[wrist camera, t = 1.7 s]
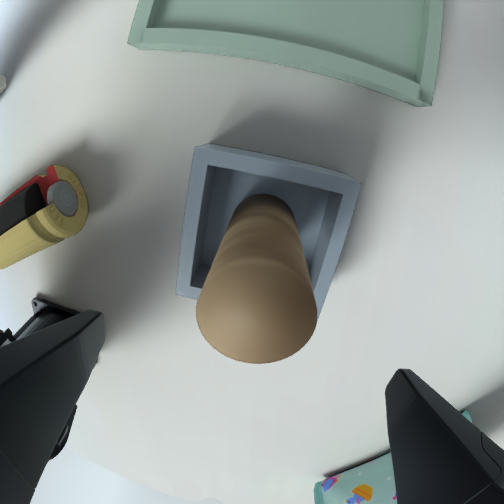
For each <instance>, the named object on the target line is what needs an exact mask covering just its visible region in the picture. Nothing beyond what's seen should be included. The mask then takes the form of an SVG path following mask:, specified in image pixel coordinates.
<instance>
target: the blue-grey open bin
mask: <svg viewBox="0 0 504 504" xmlns="http://www.w3.org/2000/svg"><path fill="white" fill-rule="evenodd" d="M360 187H361V183H360V182H359V181H357V180H355V179H354V178H352V177H351V176H349V175H348V174H346V173H343V172H339V171H335V170H331V169H327V168H323V167H320V166H316V165H311V164H307V163H303V162H299V161H295V160H290V159H286V158H281V157H277V156H272V155H267V154H263V153H258V152H253V151H248V150H242V149H237V148H232V147H226V146H220V145H215V144H209V143H208V144H204V145H200V146H196V147H195V148H194V154H193V160H192V167H191V173H190V179H189V186H188V193H187V200H186V207H185V215H184V222H183V230H182V238H181V247H180V256H179V265H178V275H177V286H176V295H179V296H183V297H188V298H192V299H197V300H198V298H199V296H200V293H201V290H202V288H203V285H204V283H205V280H206V278H207V275H208V273H209V271H210V268H211V266H212V263H213V261H214V258H215V256H216V253H217V251H218V248H219V246H220V244H221V241H222V239H223V236H224V234H225V232H226V229H227V227H228V224H229V222H230V220H231V217H232V215H233V212H234V210H235V209H236V207H237V206H238V205H239V204H240V203H241V202H242V201H243V200H244V199H246V198H248V197H250V196H253V195H256V194H270V195H273V196H276V197H278V198H280V199H282V200H283V201H284V202H286V203H287V205H288V206H289V207H290V208H291V210H292V212H293V214H294V217H295V221H296V224H297V228H298V232H299V236H300V240H301V244H302V248H303V252H304V256H305V260H306V264H307V268H308V272H309V276H310V280H311V284H312V289H313V293H314V297H315V301H316V306H317V320H318V318H319V315H320V312H321V309H322V307H323V304H324V301H325V298H326V295H327V293H328V290H329V287H330V284H331V281H332V278H333V275H334V272H335V269H336V266H337V263H338V260H339V257H340V254H341V251H342V248H343V245H344V241H345V238H346V235H347V232H348V229H349V225H350V222H351V219H352V215H353V212H354V208H355V205H356V201H357V198H358V194H359V191H360Z"/></svg>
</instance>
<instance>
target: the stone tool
mask: <svg viewBox="0 0 504 504" xmlns="http://www.w3.org/2000/svg"><path fill="white" fill-rule="evenodd" d="M6 86H7V85H6V79H5V77H4V76H3V75H1V74H0V93H1V92H2V91H3V90H4V89H5V88H6Z"/></svg>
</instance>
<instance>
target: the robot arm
mask: <svg viewBox="0 0 504 504" xmlns="http://www.w3.org/2000/svg"><path fill="white" fill-rule="evenodd" d="M32 307H33V311H34V315H33V316H32V317H31V318H30V319H29V320H28V321H27V322H26V323H25V324H24V325H23V326H22V327H21V328H20V329H19V330H18V331H17V332H16V333H15V335H14V336H13V335H12V332H11V330H10V329H9V328H8V329H6V330H5V331H4V332H3V331H2V330H0V504H30V501H31V499H32V496H33V494H34V492H35V489H34V488H36V486H37V484H38V482H39V479H40V477H41V475H42V473H43V470H44V468H45V466H46V464H47V462H48V461H49V460H51V459H53V458H54V457H55V456H57V455H58V454H59V453H60V451H61V450H62V449H63V447H64V446H65V444H66V442H67V439H68V436H69V433H70V429H71V426H72V422H73V419H74V416H75V412H76V409H77V405H76V402H77V400H78V399H79V397H80V395H81V393H82V391H83V389H84V387H85V385H86V383H87V381H88V379H89V377H90V374H91V372H92V369H93V368H94V367H95V362H96V359H97V357H98V355H99V352H100V350H101V347H102V345H103V343H104V340H105V327H104V316H103V314H102V313H101V312H99V311H95V310H92V309H89V310H87V311H84V312H82V313H79V312H76V311H73V310H70V309H67V308H64V307H61V306H59V305H56V304H53V303H50V302H47V301H45V300H42V299H39V298H37V297H35V298H34V299H33V300H32ZM385 398H386V411H387V427H388V437H389V444H390V450H391V457H392V464H393V472H394V480H395V488H396V498H397V504H504V450H503V449H502V448H500V447H499V446H498V445H497V444H495V443H494V442H493V441H492V440H491V439H490V438H488V437H487V436H486V435H485V434H484V433H483V432H480V430H479V429H478V428H477V427H476V426H475V425H474V424H473V423H471V422H470V421H469V420H468V419H467V418H466V417H465V416H463V415H462V414H461V413H460V412H459V411H458V410H457V409H455V408H454V407H453V406H452V405H451V404H450V403H448V402H447V401H446V400H445V399H444V398H443V397H442V396H440V395H439V394H438V393H437V392H436V391H435V390H434V389H432V388H431V387H430V386H429V385H428V384H427V383H425V382H424V381H423V380H422V379H421V378H420V377H419V376H417V375H416V374H415V373H414V372H413V371H412V370H410V369H398V370H397V371H396V372H395V374H394V375H393V377H392V379H391V380H390V382H389V383H388V385H387V387H386V390H385Z"/></svg>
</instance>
